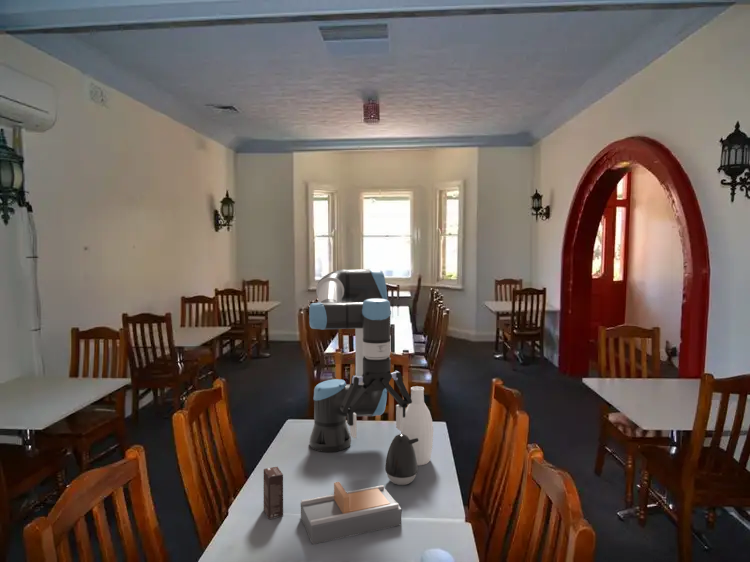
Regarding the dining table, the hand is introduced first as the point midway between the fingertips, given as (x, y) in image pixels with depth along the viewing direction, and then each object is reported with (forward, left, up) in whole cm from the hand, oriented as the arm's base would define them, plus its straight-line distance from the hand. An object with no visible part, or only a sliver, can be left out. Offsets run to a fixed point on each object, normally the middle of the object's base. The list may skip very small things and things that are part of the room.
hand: (376, 432), depth 144 cm
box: (-12, -27, -24) cm, 38 cm away
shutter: (0, -5, -19) cm, 20 cm away
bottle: (-28, +25, -24) cm, 45 cm away
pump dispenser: (-16, +14, -24) cm, 32 cm away
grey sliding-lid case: (0, -8, -24) cm, 25 cm away
